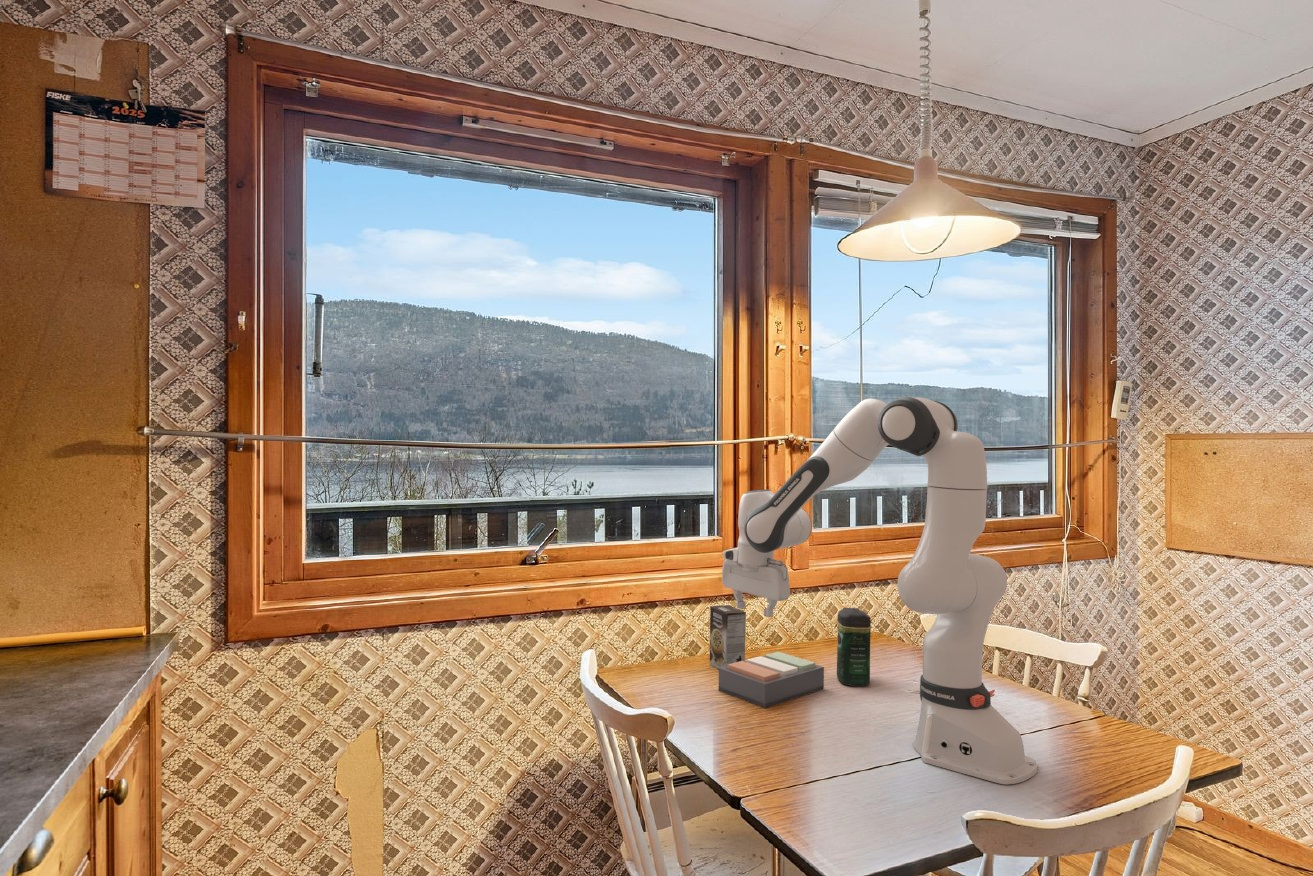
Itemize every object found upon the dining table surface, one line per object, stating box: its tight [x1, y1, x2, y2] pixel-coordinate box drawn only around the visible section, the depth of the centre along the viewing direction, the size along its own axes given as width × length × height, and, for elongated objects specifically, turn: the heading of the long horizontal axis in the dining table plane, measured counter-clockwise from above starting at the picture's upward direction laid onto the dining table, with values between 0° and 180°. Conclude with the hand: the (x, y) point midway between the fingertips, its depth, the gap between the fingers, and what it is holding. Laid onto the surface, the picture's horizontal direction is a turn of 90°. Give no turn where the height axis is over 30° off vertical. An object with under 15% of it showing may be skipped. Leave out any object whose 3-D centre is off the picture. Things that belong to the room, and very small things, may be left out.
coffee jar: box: [836, 607, 872, 687], centre depth 189 cm, size 10×8×19 cm
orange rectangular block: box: [727, 661, 779, 682], centre depth 177 cm, size 12×5×3 cm, turn 40°
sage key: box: [764, 651, 816, 671], centre depth 186 cm, size 12×5×3 cm, turn 40°
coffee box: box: [709, 604, 747, 670], centre depth 199 cm, size 9×6×16 cm
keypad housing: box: [718, 655, 825, 709], centre depth 181 cm, size 15×22×6 cm
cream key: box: [746, 655, 798, 676], centre depth 181 cm, size 12×5×3 cm, turn 40°
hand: (754, 612), depth 178 cm, fingers open, 8 cm apart
